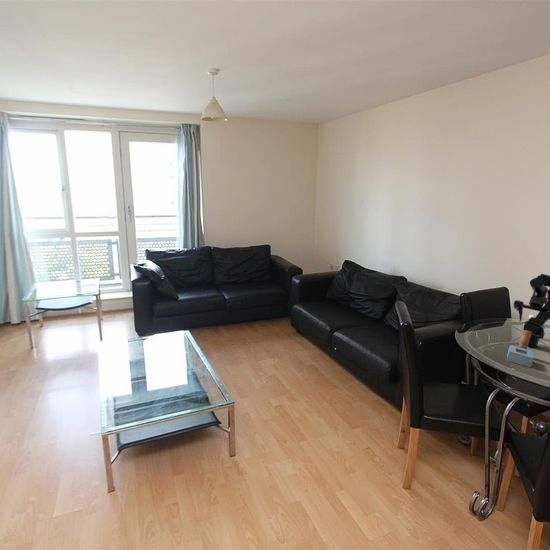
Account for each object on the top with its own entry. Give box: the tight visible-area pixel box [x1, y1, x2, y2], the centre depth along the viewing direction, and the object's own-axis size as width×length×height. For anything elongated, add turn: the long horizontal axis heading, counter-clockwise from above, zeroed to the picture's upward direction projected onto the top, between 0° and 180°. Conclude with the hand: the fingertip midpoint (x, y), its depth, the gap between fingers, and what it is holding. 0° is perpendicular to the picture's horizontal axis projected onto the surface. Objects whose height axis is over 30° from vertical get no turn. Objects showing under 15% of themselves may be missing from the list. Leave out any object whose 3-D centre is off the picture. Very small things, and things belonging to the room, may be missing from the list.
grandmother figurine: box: [522, 314, 536, 327], centre depth 221 cm, size 8×4×13 cm, turn 92°
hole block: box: [506, 344, 535, 368], centre depth 185 cm, size 10×10×5 cm
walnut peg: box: [518, 330, 532, 350], centre depth 191 cm, size 4×4×13 cm
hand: (530, 323), depth 190 cm, fingers open, 9 cm apart
